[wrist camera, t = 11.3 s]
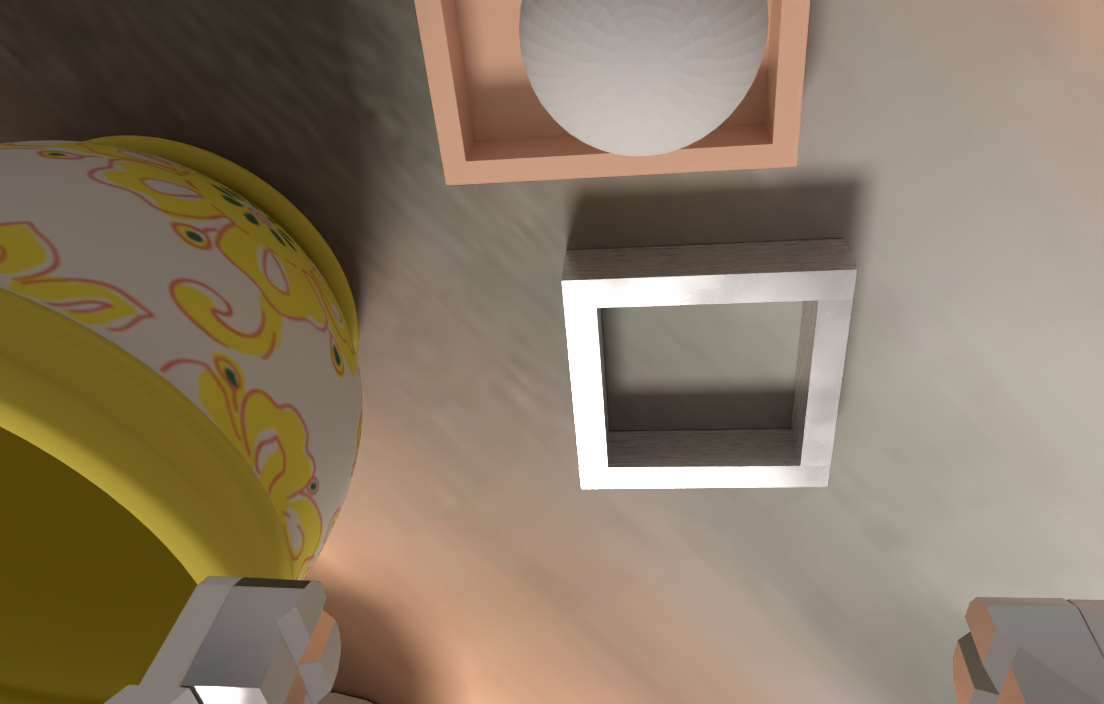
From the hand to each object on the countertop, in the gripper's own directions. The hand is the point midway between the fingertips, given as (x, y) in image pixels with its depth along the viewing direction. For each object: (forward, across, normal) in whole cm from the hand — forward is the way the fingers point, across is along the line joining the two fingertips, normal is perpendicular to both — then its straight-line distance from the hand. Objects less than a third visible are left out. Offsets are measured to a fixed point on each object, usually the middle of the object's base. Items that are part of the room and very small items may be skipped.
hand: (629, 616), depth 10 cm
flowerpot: (+21, +19, +7) cm, 29 cm away
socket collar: (+21, -2, +11) cm, 24 cm away
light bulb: (+21, 0, -4) cm, 21 cm away
